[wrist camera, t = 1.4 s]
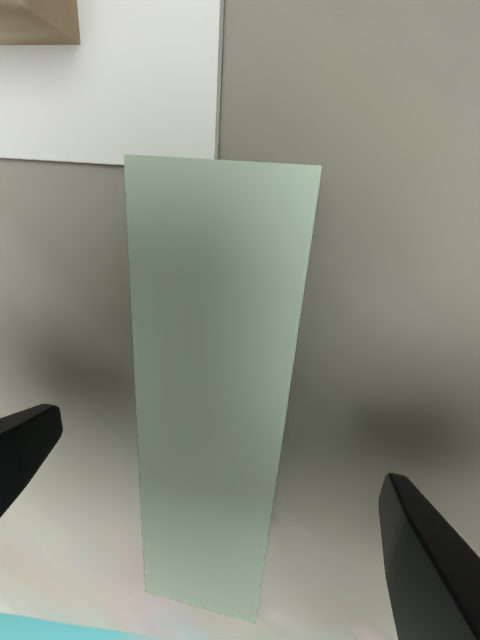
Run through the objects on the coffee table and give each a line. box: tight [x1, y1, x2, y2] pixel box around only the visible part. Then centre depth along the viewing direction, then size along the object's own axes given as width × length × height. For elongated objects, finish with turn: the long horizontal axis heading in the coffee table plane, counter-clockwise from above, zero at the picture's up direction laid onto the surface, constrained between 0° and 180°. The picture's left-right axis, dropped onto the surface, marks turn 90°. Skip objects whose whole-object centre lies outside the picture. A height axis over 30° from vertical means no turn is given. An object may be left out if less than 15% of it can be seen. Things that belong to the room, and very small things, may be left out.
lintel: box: [123, 154, 322, 624], centre depth 11 cm, size 4×14×4 cm, turn 176°
